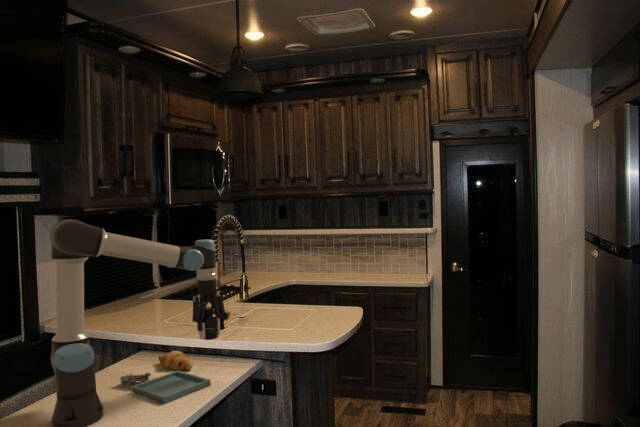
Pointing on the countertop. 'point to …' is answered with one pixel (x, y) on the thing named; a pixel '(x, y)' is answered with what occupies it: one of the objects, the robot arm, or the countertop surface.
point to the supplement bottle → (210, 323)
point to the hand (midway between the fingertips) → (209, 336)
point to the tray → (171, 386)
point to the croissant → (175, 361)
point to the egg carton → (134, 379)
